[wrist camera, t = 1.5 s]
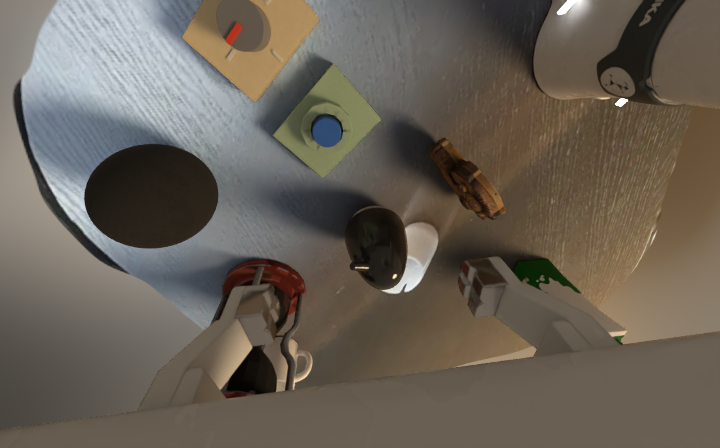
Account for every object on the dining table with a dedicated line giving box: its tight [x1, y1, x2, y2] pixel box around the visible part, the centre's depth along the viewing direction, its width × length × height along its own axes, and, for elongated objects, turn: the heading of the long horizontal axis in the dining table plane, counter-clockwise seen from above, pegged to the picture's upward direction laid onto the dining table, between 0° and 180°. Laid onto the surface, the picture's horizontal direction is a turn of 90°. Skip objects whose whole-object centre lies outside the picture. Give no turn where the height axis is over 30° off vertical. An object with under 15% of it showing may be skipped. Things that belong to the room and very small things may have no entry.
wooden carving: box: [429, 138, 506, 220], centre depth 39 cm, size 16×5×10 cm, turn 47°
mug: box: [263, 337, 312, 392], centre depth 61 cm, size 12×8×10 cm
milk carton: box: [513, 259, 627, 345], centre depth 50 cm, size 9×9×20 cm
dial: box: [216, 0, 271, 52], centre depth 26 cm, size 4×4×4 cm
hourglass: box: [211, 259, 306, 399], centre depth 43 cm, size 16×16×25 cm
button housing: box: [273, 63, 381, 178], centre depth 35 cm, size 12×9×4 cm
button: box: [312, 116, 341, 147], centre depth 33 cm, size 4×4×2 cm
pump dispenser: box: [345, 206, 408, 290], centre depth 41 cm, size 10×10×15 cm
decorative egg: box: [84, 144, 218, 248], centre depth 33 cm, size 12×12×15 cm
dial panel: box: [182, 0, 319, 102], centre depth 29 cm, size 12×9×3 cm
